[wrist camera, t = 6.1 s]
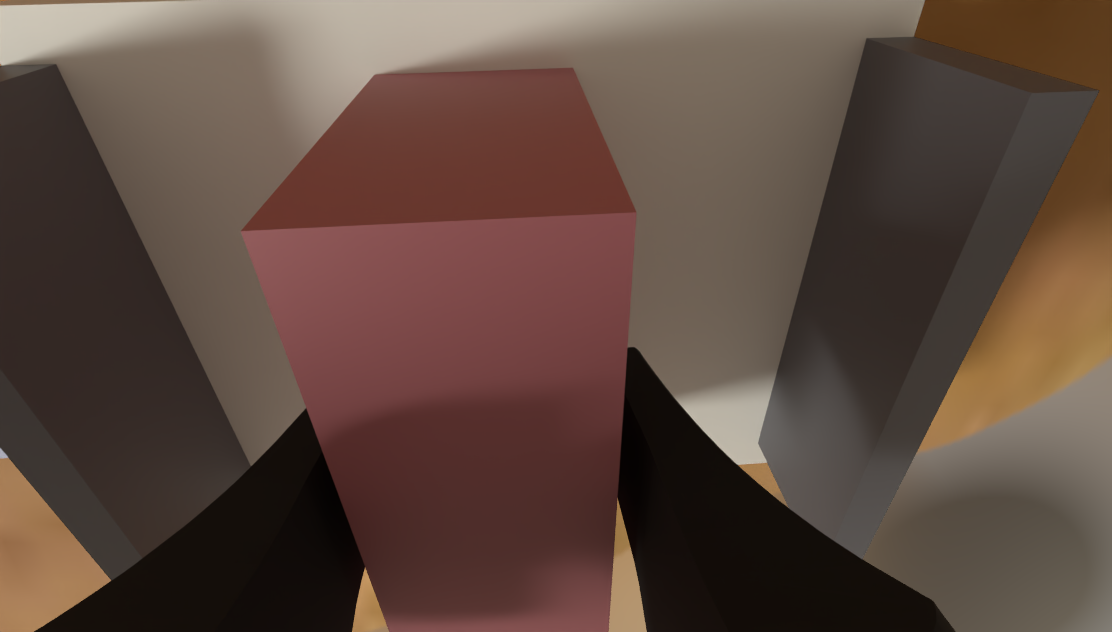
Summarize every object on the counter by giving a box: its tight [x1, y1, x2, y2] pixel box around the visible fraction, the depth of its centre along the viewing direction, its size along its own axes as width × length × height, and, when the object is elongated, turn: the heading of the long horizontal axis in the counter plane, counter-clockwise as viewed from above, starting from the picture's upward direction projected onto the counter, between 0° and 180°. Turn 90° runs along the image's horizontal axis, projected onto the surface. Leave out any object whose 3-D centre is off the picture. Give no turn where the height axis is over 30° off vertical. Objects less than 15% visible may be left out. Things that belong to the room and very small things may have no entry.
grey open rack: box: [0, 0, 1099, 581], centre depth 14 cm, size 18×14×6 cm
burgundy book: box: [241, 68, 637, 632], centre depth 12 cm, size 4×10×7 cm, turn 1°
